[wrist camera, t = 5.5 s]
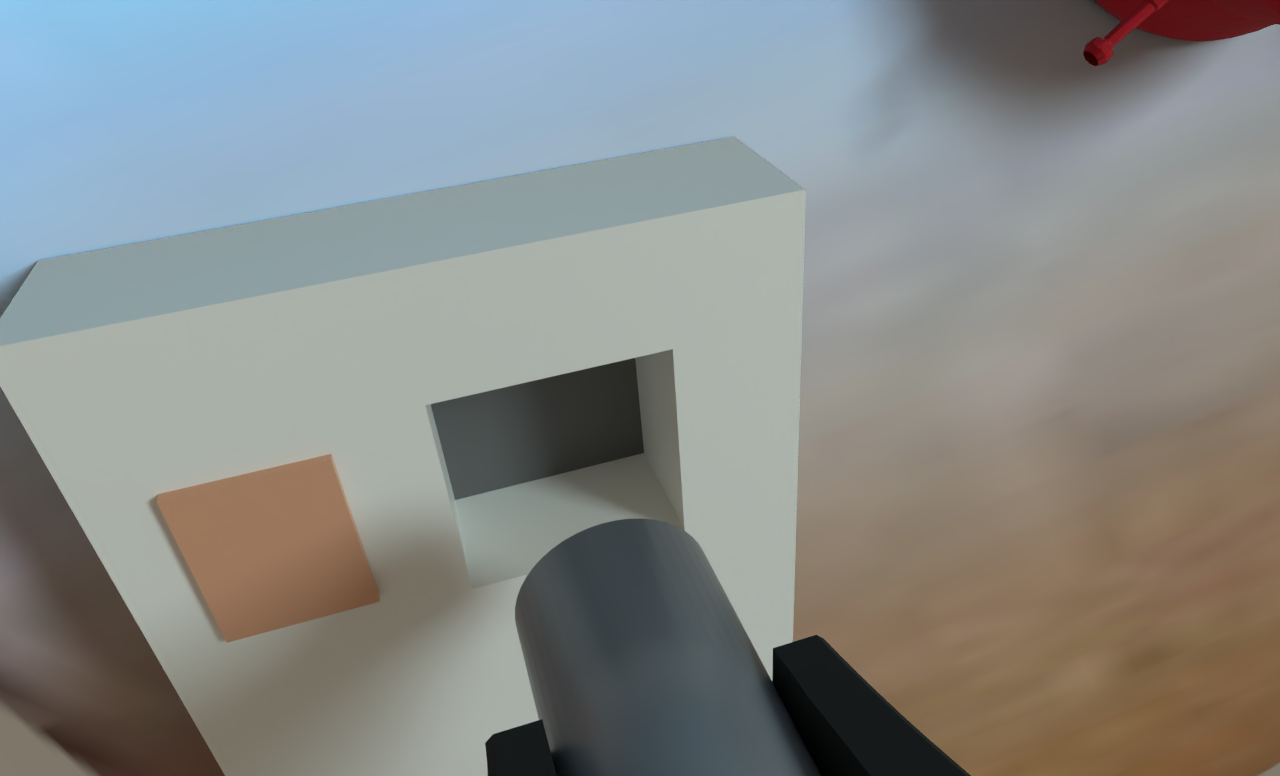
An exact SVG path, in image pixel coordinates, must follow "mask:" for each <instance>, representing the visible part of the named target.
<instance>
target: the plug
mask: <svg viewBox="0 0 1280 776" xmlns="http://www.w3.org/2000/svg"><path fill="white" fill-rule="evenodd" d="M515 622H516V628H517V632H518V636H519V640H520V644H521V649H522V653H523V657H524V661H525V665H526V669H527V673H528V677H529V681H530V685H531V690H532V694H533V698H534V702H535V706H536V710H537V714H538V718H539V720H541V719H542V720H543V724H544V728H545V732H546V736H547V739H548V743H549V747H550V751H551V755H552V759H553V763H554V767H555V771H556V775H557V776H822V775H821V773H820V771H819V769H818V767H817V766H816V764H815V762H814V760H813V758H812V756H811V754H810V752H809V750H808V749H807V747H806V745H805V743H804V741H803V739H802V737H801V735H800V733H799V731H798V730H797V728H796V726H795V724H794V722H793V720H792V718H791V716H790V714H789V713H788V711H787V709H786V707H785V705H784V703H783V701H782V699H781V697H780V695H779V694H778V692H777V690H776V688H775V686H774V684H773V682H772V680H771V678H770V677H769V675H768V673H767V671H766V669H765V667H764V665H763V663H762V661H761V659H760V658H759V656H758V654H757V652H756V650H755V648H754V646H753V644H752V642H751V641H750V639H749V637H748V635H747V633H746V631H745V629H744V627H743V625H742V623H741V622H740V620H739V618H738V616H737V614H736V612H735V610H734V608H733V606H732V605H731V603H730V601H729V599H728V597H727V595H726V593H725V591H724V589H723V587H722V586H721V584H720V582H719V580H718V578H717V576H716V574H715V572H714V570H713V569H712V567H711V565H710V563H709V561H708V559H707V557H706V555H705V553H704V552H703V550H702V548H701V547H700V545H699V544H698V542H697V541H696V540H695V539H694V538H693V537H692V536H691V535H690V534H688V533H687V532H686V531H684V530H682V529H681V528H679V527H677V526H675V525H672V524H669V523H667V522H663V521H658V520H653V519H642V518H639V519H623V520H615V521H611V522H606V523H602V524H599V525H596V526H593V527H590V528H588V529H585V530H583V531H581V532H579V533H576V534H575V535H573V536H571V537H569V538H567V539H566V540H564V541H562V542H561V543H560V544H558V545H557V546H555V547H554V548H553V549H551V550H550V551H549V552H548V553H547V554H546V555H545V556H543V557H542V558H541V559H540V560H539V562H538V563H537V564H536V565H535V566H534V567H533V568H532V570H531V571H530V573H529V574H528V575H527V577H526V579H525V580H524V582H523V584H522V586H521V588H520V591H519V593H518V596H517V600H516V605H515Z"/></svg>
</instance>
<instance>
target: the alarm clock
mask: <svg viewBox="0 0 1280 776" xmlns="http://www.w3.org/2000/svg"><path fill="white" fill-rule="evenodd" d="M1095 1H1096V2H1097V3H1098V4H1099V5H1100V6H1101V7H1102V8H1104V9H1105V10H1106V11H1107V12H1108V13H1110V14H1111V15H1113V16H1114V17H1116V18H1117V19H1119V20H1120V21H1122V22H1121V23H1120V24H1119V25H1117V26H1116V27H1115V28H1114V29H1113V30H1112V31H1111V32H1110V33H1109V34H1108V35H1107V36H1105V37H1104V38H1103V39H1102V38H1099V37H1097V38H1094V39H1093V40H1091V41H1090V42H1089V43H1088V44H1086V46H1085V49H1084V52H1083V55H1084V57H1085V59H1086V60H1087V61H1088V62H1089V63H1090V64H1091V65H1094V66H1098V65H1101V64H1104V63H1106V62H1107V61H1108V60H1109V59H1110V58H1111V57H1112V55H1113V51H1112V47H1113V46H1115V45H1116V44H1117V43H1118V42H1119V41H1120V40H1122V39H1123V38H1124V37H1125V36H1126V35H1127V34H1129V33H1130V32H1131V31H1132V30H1133V29H1134V28H1137V29H1140V30H1143V31H1146V32H1149V33H1152V34H1156V35H1160V36H1164V37H1169V38H1173V39H1179V40H1188V41H1213V40H1219V39H1226V38H1232V37H1236V36H1240V35H1244V34H1247V33H1251V32H1255V31H1258V30H1260V29H1263V28H1265V27H1268V26H1270V25H1274V24H1280V0H1095Z"/></svg>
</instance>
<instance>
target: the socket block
mask: <svg viewBox="0 0 1280 776" xmlns="http://www.w3.org/2000/svg"><path fill="white" fill-rule="evenodd" d="M805 203H806V189H805V188H803V187H802V186H801V185H799V184H798V183H796V182H795V181H794V180H792V179H791V178H790V177H788V176H787V175H786V174H784V173H783V172H782V171H780V170H779V169H778V168H776V167H775V166H774V165H772V164H771V163H770V162H768V161H767V160H766V159H764V158H763V157H762V156H760V155H759V154H758V153H756V152H755V151H754V150H752V149H751V148H750V147H748V146H747V145H746V144H744V143H743V142H742V141H740V140H739V139H738V138H736V137H730V138H724V139H719V140H713V141H708V142H702V143H696V144H691V145H685V146H679V147H674V148H668V149H663V150H657V151H651V152H646V153H640V154H635V155H629V156H623V157H618V158H612V159H606V160H601V161H595V162H590V163H584V164H578V165H573V166H567V167H561V168H556V169H550V170H545V171H539V172H533V173H528V174H522V175H516V176H511V177H505V178H500V179H494V180H488V181H483V182H477V183H472V184H466V185H460V186H455V187H449V188H443V189H438V190H432V191H427V192H421V193H415V194H410V195H404V196H398V197H393V198H387V199H382V200H376V201H370V202H365V203H359V204H353V205H348V206H342V207H337V208H331V209H325V210H320V211H314V212H309V213H303V214H297V215H292V216H286V217H280V218H275V219H269V220H264V221H258V222H252V223H247V224H241V225H235V226H230V227H224V228H219V229H213V230H207V231H202V232H196V233H190V234H185V235H179V236H174V237H168V238H162V239H157V240H151V241H146V242H140V243H134V244H129V245H123V246H117V247H112V248H106V249H101V250H95V251H89V252H84V253H78V254H72V255H67V256H61V257H56V258H50V259H44V260H39V261H37V263H36V264H35V266H34V267H33V269H32V271H31V272H30V274H29V275H28V277H27V278H26V280H25V281H24V283H23V284H22V286H21V287H20V289H19V290H18V292H17V293H16V295H15V297H14V298H13V300H12V301H11V303H10V304H9V306H8V307H7V309H6V310H5V312H4V313H3V315H2V316H1V318H0V387H1V388H2V390H3V392H4V394H5V395H6V397H7V399H8V401H9V402H10V404H11V406H12V408H13V409H14V411H15V413H16V414H17V416H18V418H19V420H20V421H21V423H22V425H23V427H24V428H25V430H26V432H27V434H28V435H29V437H30V439H31V440H32V442H33V444H34V446H35V447H36V449H37V451H38V453H39V454H40V456H41V458H42V460H43V461H44V463H45V465H46V466H47V468H48V470H49V472H50V473H51V475H52V477H53V479H54V480H55V482H56V484H57V485H58V487H59V489H60V491H61V492H62V494H63V496H64V498H65V499H66V501H67V503H68V505H69V506H70V508H71V510H72V511H73V513H74V515H75V517H76V518H77V520H78V522H79V524H80V525H81V527H82V529H83V531H84V532H85V534H86V536H87V537H88V539H89V541H90V543H91V544H92V546H93V548H94V550H95V551H96V553H97V555H98V556H99V558H100V560H101V562H102V563H103V565H104V567H105V569H106V570H107V572H108V574H109V576H110V577H111V579H112V581H113V582H114V584H115V586H116V588H117V589H118V591H119V593H120V595H121V596H122V598H123V600H124V602H125V603H126V605H127V607H128V608H129V610H130V612H131V614H132V615H133V617H134V619H135V621H136V622H137V624H138V626H139V627H140V629H141V631H142V633H143V634H144V636H145V638H146V640H147V641H148V643H149V645H150V647H151V648H152V650H153V652H154V653H155V655H156V657H157V659H158V660H159V662H160V664H161V666H162V667H163V669H164V671H165V673H166V674H167V676H168V678H169V679H170V681H171V683H172V685H173V686H174V688H175V690H176V692H177V693H178V695H179V697H180V699H181V700H182V702H183V704H184V705H185V707H186V709H187V711H188V712H189V714H190V716H191V718H192V719H193V721H194V723H195V724H196V726H197V728H198V730H199V731H200V733H201V735H202V737H203V738H204V740H205V742H206V744H207V745H208V747H209V749H210V750H211V752H212V754H213V756H214V757H215V759H216V761H217V763H218V764H219V766H220V768H221V770H222V771H223V773H224V775H225V776H488V770H487V757H486V747H485V743H486V742H487V740H488V739H489V738H490V737H491V736H492V735H493V734H495V733H499V732H502V731H505V730H508V729H512V728H515V727H518V726H521V725H525V724H528V723H531V722H534V721H538V720H539V718H538V714H537V710H536V706H535V702H534V698H533V694H532V690H531V685H530V681H529V677H528V673H527V669H526V665H525V661H524V657H523V653H522V649H521V644H520V640H519V636H518V632H517V628H516V622H515V605H516V600H517V596H518V593H519V591H520V588H521V586H522V584H523V582H524V580H525V579H526V577H527V575H528V574H529V573H530V571H531V570H532V568H533V567H534V566H535V565H536V564H537V563H538V562H539V560H540V559H541V558H542V557H543V556H545V555H546V554H547V553H548V552H549V551H550V550H551V549H553V548H554V547H555V546H557V545H558V544H560V543H561V542H562V541H564V540H566V539H567V538H569V537H571V536H573V535H575V534H576V533H579V532H581V531H583V530H585V529H588V528H590V527H593V526H596V525H599V524H602V523H606V522H611V521H615V520H623V519H639V518H642V519H653V520H658V521H663V522H667V523H669V524H672V525H675V526H677V527H679V528H681V529H682V530H684V531H686V532H687V533H688V534H690V535H691V536H692V537H693V538H694V539H695V540H696V541H697V542H698V544H699V545H700V547H701V548H702V550H703V552H704V553H705V555H706V557H707V559H708V561H709V563H710V565H711V567H712V569H713V570H714V572H715V574H716V576H717V578H718V580H719V582H720V584H721V586H722V587H723V589H724V591H725V593H726V595H727V597H728V599H729V601H730V603H731V605H732V606H733V608H734V610H735V612H736V614H737V616H738V618H739V620H740V622H741V623H742V625H743V627H744V629H745V631H746V633H747V635H748V637H749V639H750V641H751V642H752V644H753V646H754V648H755V650H756V652H757V654H758V656H759V658H760V659H761V661H762V663H763V665H764V667H765V669H766V671H767V673H768V675H769V677H770V678H771V680H772V677H773V648H775V647H779V646H782V645H785V644H788V643H792V642H793V614H794V579H795V545H796V511H797V477H798V443H799V408H800V374H801V340H802V306H803V271H804V237H805Z"/></svg>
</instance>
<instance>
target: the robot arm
mask: <svg viewBox="0 0 1280 776" xmlns="http://www.w3.org/2000/svg"><path fill="white" fill-rule="evenodd" d="M772 682H773V684H774V686H775V688H776V690H777V692H778V694H779V695H780V697H781V699H782V701H783V703H784V705H785V707H786V709H787V711H788V713H789V714H790V716H791V718H792V720H793V722H794V724H795V726H796V728H797V730H798V731H799V733H800V735H801V737H802V739H803V741H804V743H805V745H806V747H807V749H808V750H809V752H810V754H811V756H812V758H813V760H814V762H815V764H816V766H817V767H818V769H819V771H820V773H821V775H822V776H970V775H969V774H968V773H967V772H966V771H965V770H964V769H962V768H961V767H960V766H959V765H958V764H957V763H955V762H954V761H953V760H952V759H951V758H950V757H949V756H947V755H946V754H945V753H944V752H943V751H942V750H940V749H939V748H938V747H937V746H936V745H935V744H934V743H932V742H931V741H930V740H929V739H928V738H927V737H925V736H924V735H923V734H922V733H921V732H920V731H919V730H918V729H917V728H916V727H914V726H913V725H912V724H911V723H910V722H909V721H908V720H907V719H906V718H905V717H903V716H902V715H901V714H900V713H899V712H898V711H897V710H896V709H895V708H894V707H893V706H892V705H891V704H890V703H888V702H887V701H886V700H885V699H884V698H883V697H882V696H881V695H880V694H879V693H878V692H877V691H876V690H875V689H874V688H873V687H872V686H871V685H869V684H868V683H867V682H866V681H865V680H864V679H863V678H862V677H861V676H860V675H859V674H858V673H857V672H856V671H855V670H854V669H853V668H852V667H851V666H850V665H849V664H848V663H847V662H846V661H845V660H844V659H843V658H842V657H841V656H840V655H839V654H838V653H837V652H836V651H835V650H834V649H833V648H832V647H831V646H830V645H829V644H828V643H827V642H826V641H825V640H824V639H823V638H821V637H819V636H817V635H815V636H811V637H808V638H805V639H802V640H798V641H795V642H792V643H788V644H785V645H782V646H779V647H775V648H773V677H772ZM485 747H486V757H487V770H488V776H557V775H556V771H555V767H554V763H553V759H552V755H551V751H550V747H549V743H548V739H547V736H546V732H545V728H544V724H543V720H542V719H541V720H538V721H534V722H531V723H528V724H525V725H521V726H518V727H515V728H512V729H508V730H505V731H502V732H499V733H495V734H493V735H492V736H491V737H490V738H489V739H488V740H487V742H486V743H485Z"/></svg>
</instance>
